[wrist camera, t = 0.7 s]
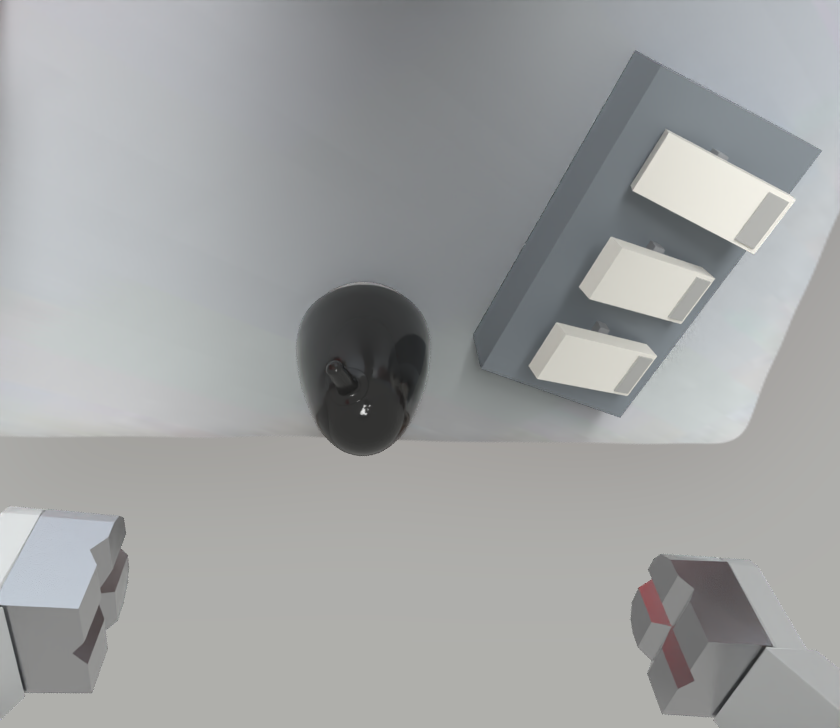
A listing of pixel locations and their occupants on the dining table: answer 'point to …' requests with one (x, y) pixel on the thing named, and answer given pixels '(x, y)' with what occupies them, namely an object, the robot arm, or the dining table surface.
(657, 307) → the block
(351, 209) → the dining table surface
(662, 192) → the rocker
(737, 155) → the console
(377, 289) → the black rounded dome
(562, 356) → the rocker
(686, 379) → the dining table surface
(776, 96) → the dining table surface
